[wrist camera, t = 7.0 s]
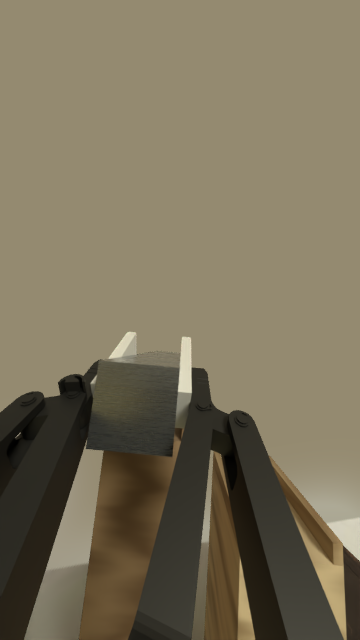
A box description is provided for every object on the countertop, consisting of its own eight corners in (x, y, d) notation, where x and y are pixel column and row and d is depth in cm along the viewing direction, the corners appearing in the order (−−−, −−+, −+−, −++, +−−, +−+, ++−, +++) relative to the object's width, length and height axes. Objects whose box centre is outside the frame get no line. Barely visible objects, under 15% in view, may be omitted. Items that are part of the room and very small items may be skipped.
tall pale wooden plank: (229, 936, 11) (240, 533, 15) (204, 637, 23) (213, 450, 27) (359, 952, 11) (342, 543, 15) (268, 643, 23) (269, 455, 26)
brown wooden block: (39, 937, 11) (108, 415, 16) (114, 621, 24) (140, 385, 28) (155, 953, 11) (191, 423, 15) (168, 627, 24) (186, 389, 28)
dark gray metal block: (86, 448, 9) (99, 360, 9) (154, 375, 30) (156, 351, 31) (172, 457, 8) (180, 367, 9) (178, 377, 30) (180, 353, 31)
